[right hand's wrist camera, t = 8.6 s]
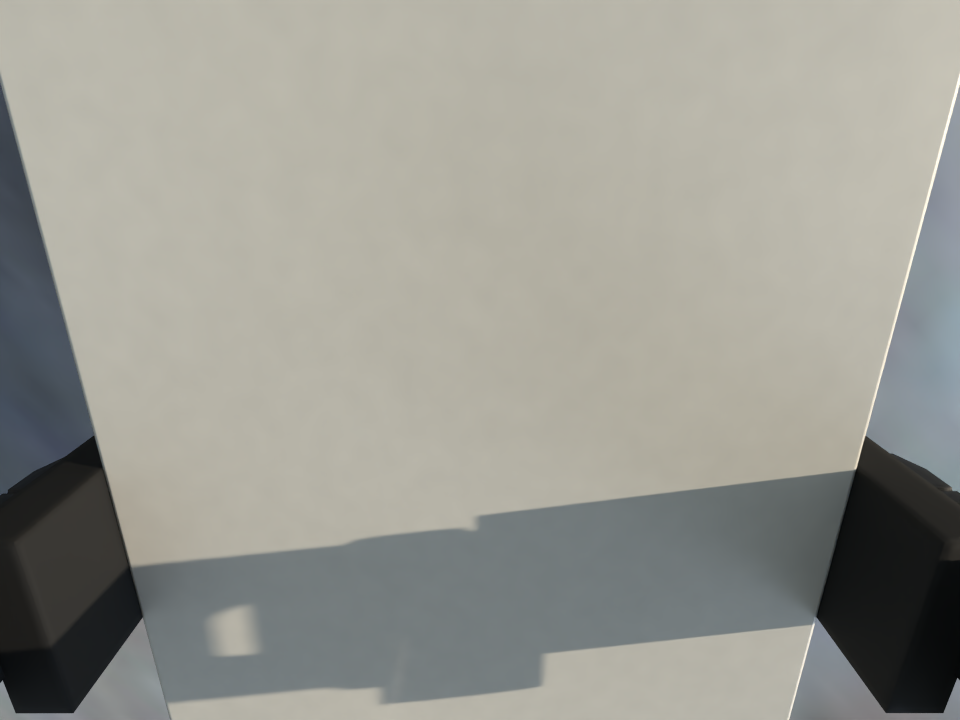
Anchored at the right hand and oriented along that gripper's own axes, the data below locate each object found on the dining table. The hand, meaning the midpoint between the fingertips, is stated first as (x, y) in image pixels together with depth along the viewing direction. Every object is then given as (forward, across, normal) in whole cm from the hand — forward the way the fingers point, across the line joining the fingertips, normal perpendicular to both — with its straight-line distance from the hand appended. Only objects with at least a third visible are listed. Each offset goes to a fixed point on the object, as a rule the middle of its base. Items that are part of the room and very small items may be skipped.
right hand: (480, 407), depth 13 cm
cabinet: (+5, 0, -7) cm, 9 cm away
